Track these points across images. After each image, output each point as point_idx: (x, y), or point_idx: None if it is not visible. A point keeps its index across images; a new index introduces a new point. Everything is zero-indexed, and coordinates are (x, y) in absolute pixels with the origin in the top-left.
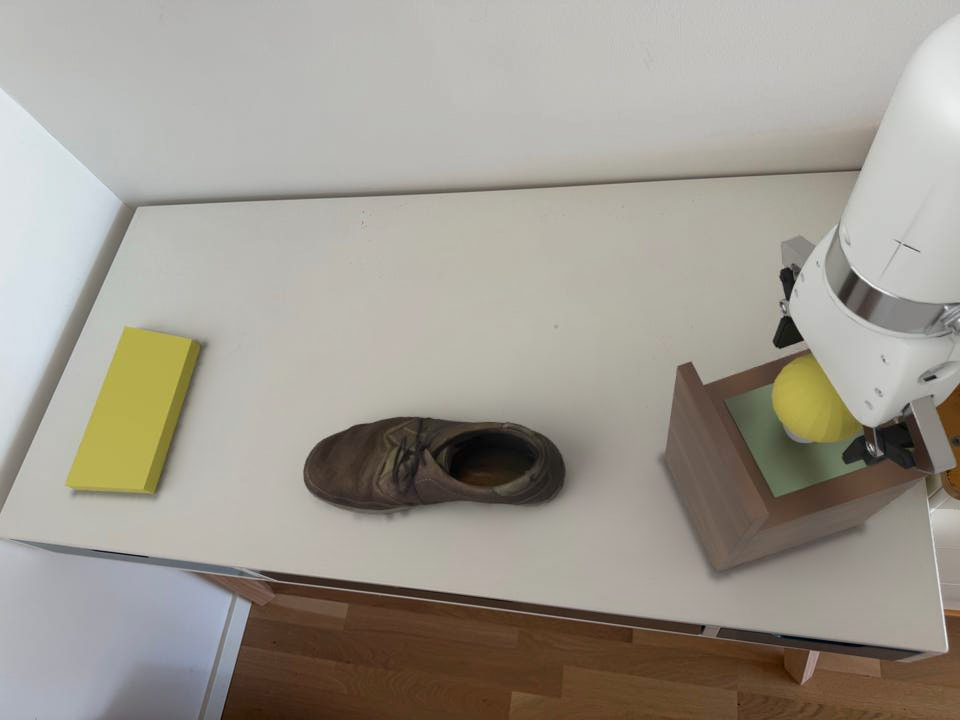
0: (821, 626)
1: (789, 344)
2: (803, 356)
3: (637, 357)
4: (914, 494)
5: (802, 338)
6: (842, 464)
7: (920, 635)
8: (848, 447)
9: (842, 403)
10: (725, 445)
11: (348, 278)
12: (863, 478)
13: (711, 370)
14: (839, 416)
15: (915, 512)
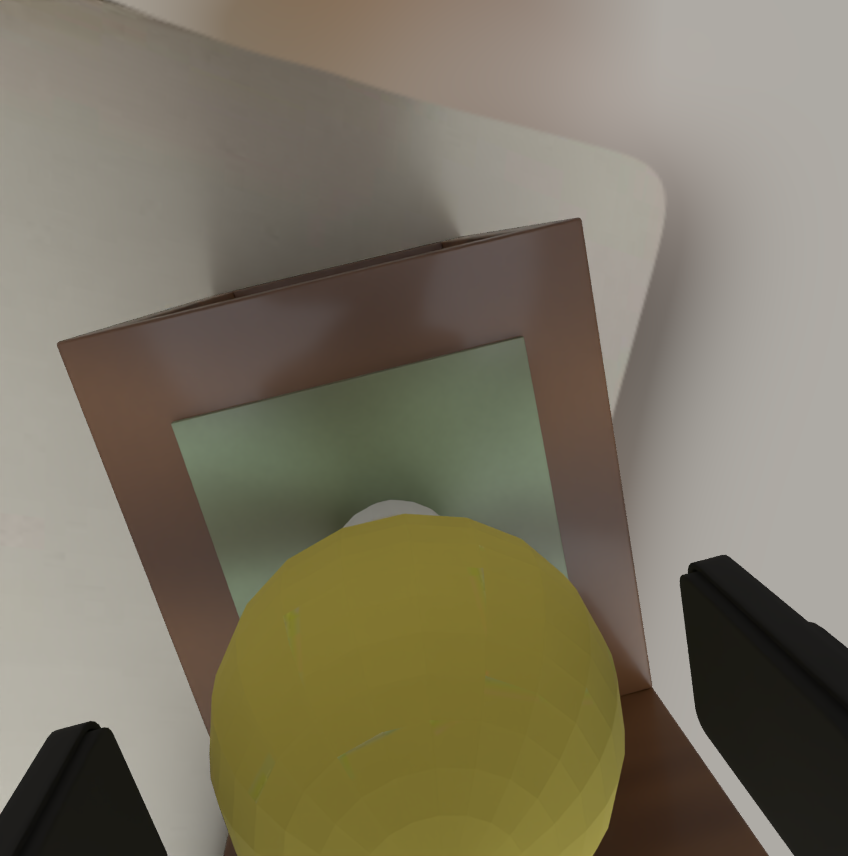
0: (624, 353)
1: (149, 840)
2: (237, 851)
3: (57, 587)
4: (412, 106)
5: (121, 808)
6: (516, 454)
7: (662, 192)
8: (764, 809)
9: (571, 837)
10: None
11: None
12: (562, 406)
13: (95, 444)
14: (606, 812)
15: (448, 118)
